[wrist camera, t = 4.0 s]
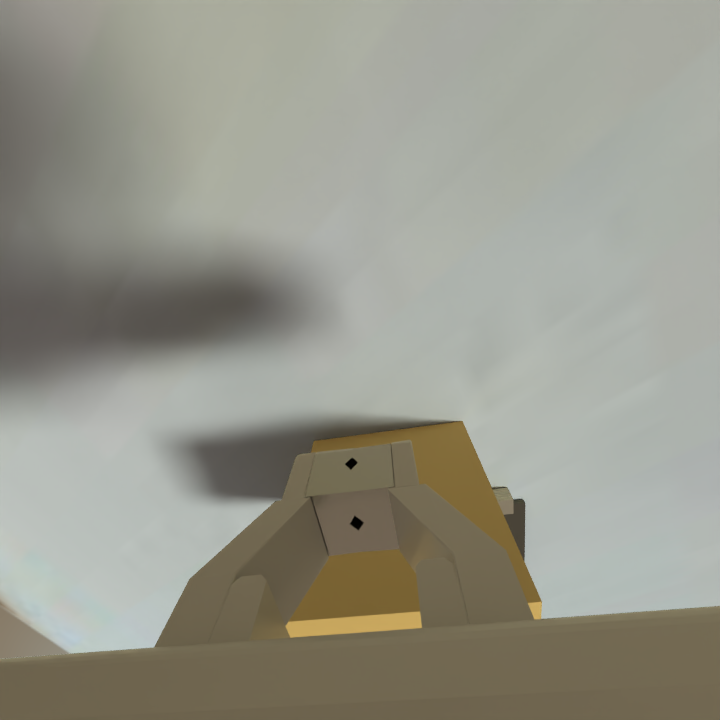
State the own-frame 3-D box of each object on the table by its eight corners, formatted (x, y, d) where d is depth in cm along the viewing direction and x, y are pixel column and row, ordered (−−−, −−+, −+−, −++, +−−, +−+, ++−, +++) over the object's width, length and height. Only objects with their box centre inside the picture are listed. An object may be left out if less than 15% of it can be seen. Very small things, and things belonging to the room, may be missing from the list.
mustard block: (313, 440, 21) (267, 623, 11) (462, 420, 20) (542, 602, 10) (331, 500, 22) (304, 697, 13) (467, 485, 22) (537, 684, 12)
